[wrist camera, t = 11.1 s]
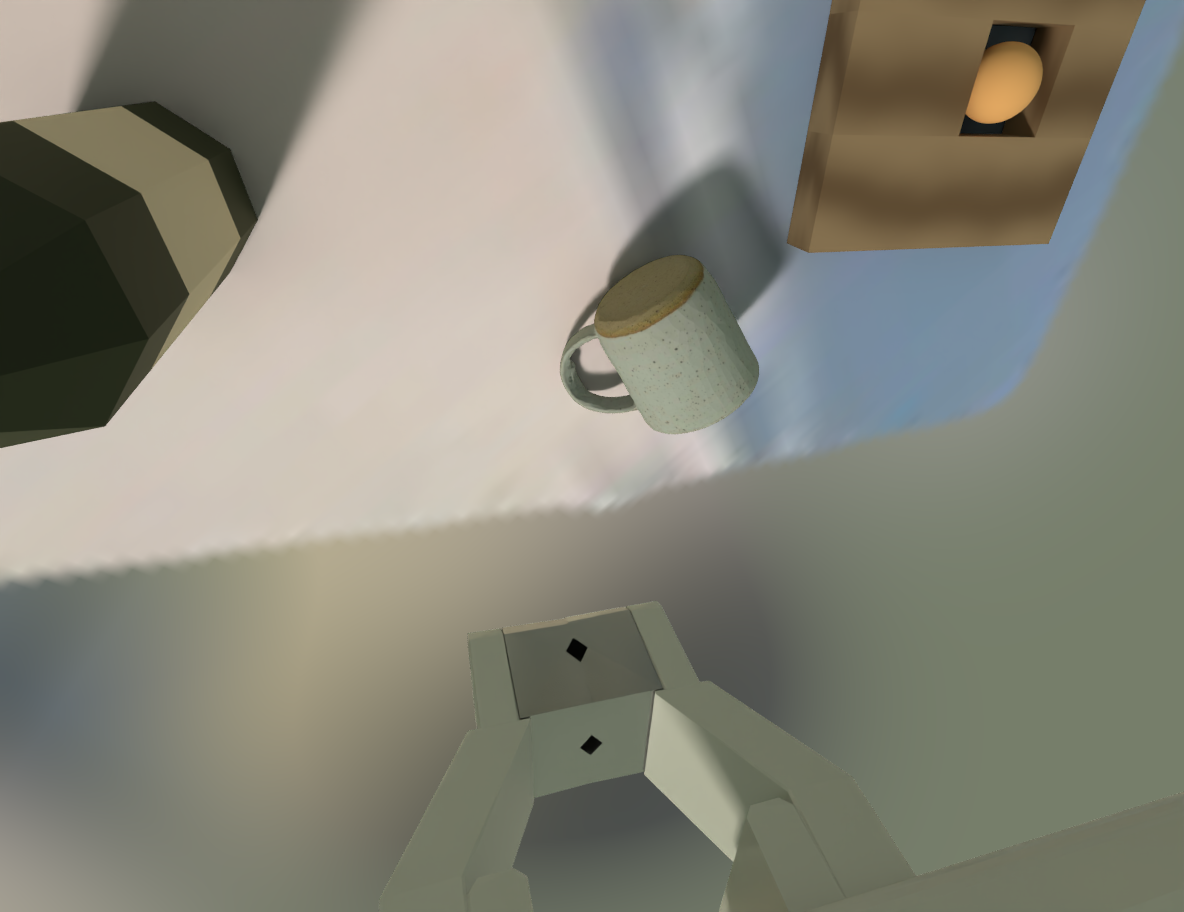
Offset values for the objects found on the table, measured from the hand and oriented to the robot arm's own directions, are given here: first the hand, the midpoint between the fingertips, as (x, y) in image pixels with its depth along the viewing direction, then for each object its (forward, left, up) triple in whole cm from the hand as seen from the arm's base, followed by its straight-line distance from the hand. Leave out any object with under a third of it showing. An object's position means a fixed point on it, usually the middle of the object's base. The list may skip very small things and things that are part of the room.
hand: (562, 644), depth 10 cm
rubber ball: (-8, +31, -27) cm, 42 cm away
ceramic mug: (+7, +11, -29) cm, 32 cm away
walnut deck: (-8, +30, -29) cm, 43 cm away
